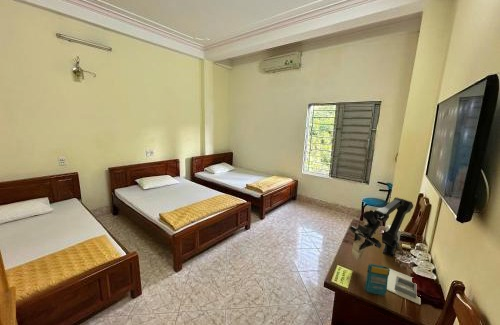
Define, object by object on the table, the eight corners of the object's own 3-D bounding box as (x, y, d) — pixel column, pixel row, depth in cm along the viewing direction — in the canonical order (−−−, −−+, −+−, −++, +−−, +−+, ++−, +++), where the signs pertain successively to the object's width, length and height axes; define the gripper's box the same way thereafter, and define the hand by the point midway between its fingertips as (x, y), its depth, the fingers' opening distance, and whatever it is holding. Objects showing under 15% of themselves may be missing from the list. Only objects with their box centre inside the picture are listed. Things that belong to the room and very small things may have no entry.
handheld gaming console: (383, 291, 112) (388, 266, 108) (386, 297, 108) (391, 272, 105) (363, 287, 114) (368, 263, 111) (365, 293, 110) (370, 268, 107)
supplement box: (395, 241, 159) (398, 226, 156) (398, 246, 152) (401, 231, 149) (383, 239, 161) (386, 224, 159) (386, 244, 154) (389, 229, 152)
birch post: (355, 254, 131) (358, 239, 129) (361, 258, 128) (364, 243, 126) (351, 255, 130) (353, 241, 128) (356, 259, 126) (359, 244, 124)
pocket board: (389, 269, 128) (389, 264, 128) (420, 281, 119) (421, 276, 119) (385, 289, 113) (386, 284, 112) (420, 304, 104) (421, 299, 103)
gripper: (353, 214, 134) (338, 233, 132) (381, 228, 117) (365, 250, 115) (360, 223, 139) (345, 241, 136) (388, 237, 122) (372, 259, 120)
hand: (356, 247), depth 127 cm, fingers closed on birch post, 4 cm apart
